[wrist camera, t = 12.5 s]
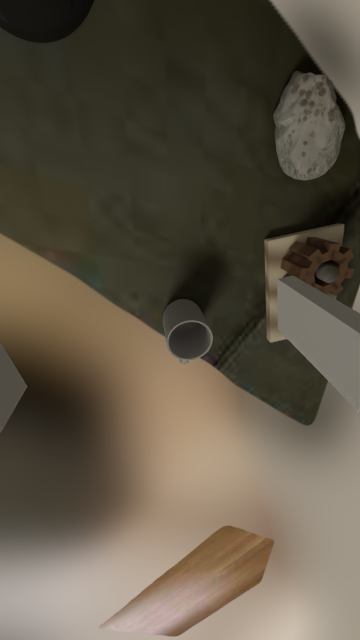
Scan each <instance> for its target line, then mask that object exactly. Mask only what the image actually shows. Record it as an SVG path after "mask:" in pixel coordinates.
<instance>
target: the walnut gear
mask: <svg viewBox="0 0 360 640" xmlns="http://www.w3.org/2000/svg"><path fill="white" fill-rule="evenodd" d="M289 250H290V251H291V253H292V254H291V256H290V257H289V259H282V262H281V267H280V268H281V269H283V270H285V271H286V272H287V274H286V275H285V276H284V277H288V276H295V277H297V278H298V279H300V280H302V281H304V282H305V283H307V284H309V285H311V286H312V287H314V288H316V289H318V290H319V291H321V292H323V293H325V294H326V293H328V292H329V293H331V294H333V295H334V296H336V295H337V294H338V293H339V292H341V291H342V290H343V287H342V286H341V283H342V282H343V280H344V279H345V278H352V275H353V273H354V270H355V268H353V267H350V266H348V262H349V261H350V260H351V259H353V258H354V255H353V253H352V251H351V250H350V249H348V248H345V247H341V244H339V243H336V242H332V241H328V240H325V239H321V238H318V237H307V240H306V244H303V243H300V242H297V241H296V242H295V243H294V244H293V245H292V246H291V247H289ZM321 263H325V264H328V265H330V266H333V267H335V268H337V269H338V270H339V276H338V278H337V279H336V280H335V281H334V282H332V283H326V282H324V281H322V280H320V279H318V278H316V277H314V273H315V271H316V270H317V268H318V267H319V265H320V264H321ZM284 277H282V278H284Z"/></svg>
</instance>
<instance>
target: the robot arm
mask: <svg viewBox="0 0 360 640" xmlns="http://www.w3.org/2000/svg"><path fill="white" fill-rule="evenodd" d="M92 3H93V0H0V27H1V28H3V29H4V30H6V31H7V32H9V33H11V34H13V35H14V36H17V37H19V38H21V39H24V40H28V41H32V42H39V43H47V42H54V41H57V40H60V39H63V38H65V37H67V36H68V35H70V34H71V33H72V32H74V31H75V30H76V29H77V28H78V27H79V26H80V25H81V23H82V22H83V21H84V19H85V18H86V16H87V14H88V12H89V10H90V8H91V6H92ZM277 301H278V329H279V331H280V332H281V333H282V334H283V335H284V336H285V337H286V338H287V339H288V340H289V341H290V342H291V343H292V344H293V345H294V346H295V347H296V348H297V349H298V350H299V351H300V352H301V353H302V354H303V355H304V356H305V357H306V358H307V359H308V360H309V361H310V362H311V363H312V364H313V365H314V366H315V367H316V368H317V369H318V371H319V372H320V373H321V374H322V375H323V376H324V377H325V378H326V379H327V380H328V381H329V382H330V383H331V384H332V385H333V386H334V387H335V388H336V389H337V390H338V391H339V392H340V393H341V394H342V395H343V396H344V397H345V398H346V399H347V400H348V401H349V402H350V403H351V404H352V405H353V406H354V407H355V408H356V409H357V411H359V413H360V314H359V313H358V312H356V311H354V310H353V309H351V308H349V307H347V306H346V305H344V304H342V303H340V302H339V301H337V300H335V299H333V298H332V297H330V296H328V295H326V294H325V293H323V292H321V291H319V290H318V289H316V288H314V287H312V286H311V285H309V284H307V283H305V282H304V281H302V280H300V279H298V278H297V277H295V276H288V277H284V278H279V279H277ZM26 388H27V385H26V384H25V382H24V381H23V379H22V377H21V376H20V374H19V372H18V371H17V369H16V367H15V366H14V364H13V363H12V361H11V359H10V358H9V356H8V354H7V353H6V351H5V349H4V348H3V346H2V345H1V343H0V433H1V431H2V429H3V427H4V426H5V424H6V422H7V421H8V419H9V417H10V415H11V414H12V412H13V410H14V408H15V407H16V405H17V403H18V402H19V400H20V398H21V396H22V394H23V393H24V391H25V389H26Z"/></svg>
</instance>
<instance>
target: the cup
mask: <svg viewBox="0 0 360 640" xmlns="http://www.w3.org/2000/svg"><path fill="white" fill-rule="evenodd" d="M163 324H164V331H165V337H166V343H167V347H168V350H169V351H170V353H171V354H172V355H173V356H175V357H176V358H178V359H179V361H180V362H181V363H182V364H186V363H188V362H189V360H194V359H197V358H200V357H201V356H203V355H204V354H205V353H206V352H208V350H209V349H210V347H211V345H212V342H213V336H212V332H211V330H210V328H209V326H208V324H207V322H206V320H205V318H204V315H203V313H202V311H201V310H200V308H199V307H198V305H197V304H196V303H195V302H193V301H191V300H188V299H179V300H176V301H173V302H172V303H170V304H169V305H168V306H167V307H166V309H165V311H164V314H163Z"/></svg>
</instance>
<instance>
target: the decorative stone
mask: <svg viewBox="0 0 360 640" xmlns="http://www.w3.org/2000/svg"><path fill="white" fill-rule="evenodd" d="M273 118H274V123H275V125H276V129H275V142H276V150H277V155H278V160H279V163H280V166H281V168H282V170H283V171H284V173H286V174H287V175H288V176H290V177H292V178H294V179H299V180H310V179H314V178H317V177H319V176H321V175H323V174H325V173H326V172H327V171H328V170H329V169H330V168H331V167H332V165H333V164H334V163H335V161H336V159H337V156H338V154H339V150H340V144H341V140H342V137H343V133H344V130H345V122H344V118H343V116H342V113H341V111H340V109H339V106H338V105H337V104H336V95H335V91H334V88H333V84H332V82H331V81H330V80H328V77H327V76H326V75H315V74H313V73H311V72H309V73H301V72H299V71H295V72H294V73H293V74H292V76H291V79H290V81H289V83H288V84H287V86H286V87H285V89H284V91H283V93H282V95H281V98H280V102H279V104H278V106H277V108H276V110H275V112H274V115H273Z"/></svg>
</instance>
